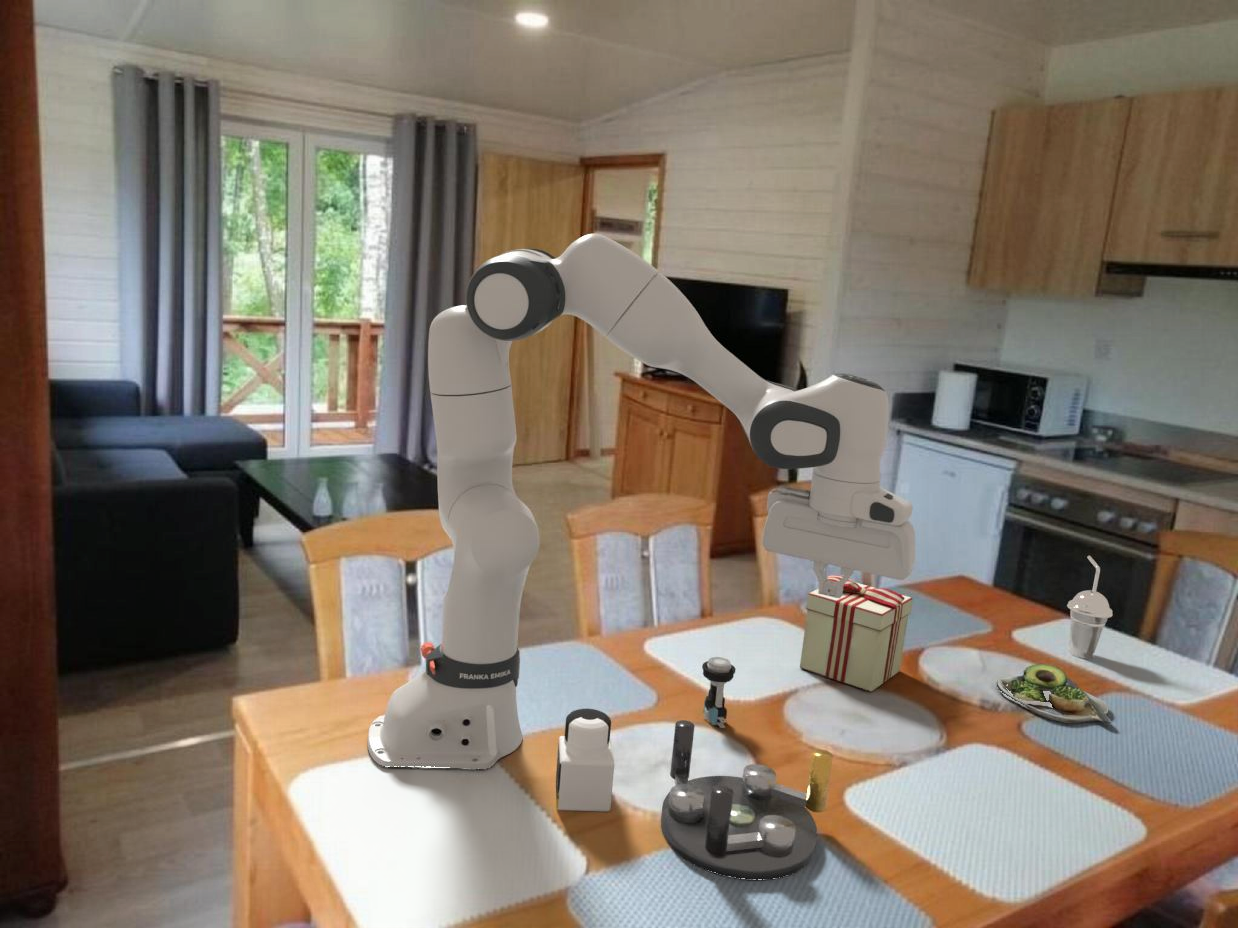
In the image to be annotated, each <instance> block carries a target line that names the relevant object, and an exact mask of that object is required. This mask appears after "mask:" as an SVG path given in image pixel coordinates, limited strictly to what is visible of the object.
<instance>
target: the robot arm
mask: <svg viewBox="0 0 1238 928" xmlns="http://www.w3.org/2000/svg"><path fill="white" fill-rule="evenodd" d="M465 302H466V303H465V304H462V305H457V306H451V307H449V308H447V309H445V310H443V311H441V312H439V313H438V314H437V315H436V316H435V317H434V318H433V320H432V321H431V324H430V326H429V331H428V347H427V363H428V366H427V367H428V383H429V391H430V392H429V393H430V401H431V408H432V415H433V416H432V417H433V425H434V434H435V440H436V453H437V454H436V455H437V457H436V459H437V460H436V461H437V464H436V466H437V467H436V468H437V469H436V470H437V472H436V473H437V474H436V475H437V477H436V478H437V496H438V497H437V501H438V514H439V515H438V516H439V521H440V524H441V527H442V529H443V531H444V532H445V533H446V535H447V536H448V537H449V538H450V540H451V542H452V548H453V563H452V569H451V574H450V578H449V581H448V586H447V590H446V591H445V592H444V595H443V599H442V619H441V621H442V623H441V643H440V644H439V645H438V646H436V647H435V644H433V642H430V641H426V642H424V643H422V645H421V647H420V651H421V656H422V657H423V658H424V659H425V670H424V671H422V672H421V673H419V674H418V675H416V676H415V677H414V678H412V679H411V680H409V681H407V682H406V683H404V684H403V685H401V686H400V687H398V688H396V689H395V690H394V691H393V692H392V693H391V695H390V698H389V699H388V703H387V705H386V709H385V713H384V714H383V715H379V716H378V717H376V718H375V719H374V720H373V721H372V722H371V724H370V726H369V728H368V734H367V748H368V752H369V754H370V757H371V758H372V760H374V761H375V762H376V763H377V764H378V765H379V766H381V765H382V766H381V767H383V766H390V767H394V766H397V767H398V766H399V767H401V766H405V767H408V766H414V767H415V766H421V767H422V766H424V767H426V766H431V767H434V766H435V767H450V768H462V769H461V770H464V769H463V768H467V769H466V770H476V769H478V768H479V769H484V770H488V769H491V766H492V767H493V766H494V764H496V763H497V761H499V759H501V758H503V757H505V756H507V755H510V754H512V752H514V751H516V749H518V748H519V746H520V745H521V743H522V740H523V732H522V728H521V724H520V720H519V713H518V703H517V686H518V682H519V679H520V669H521V666H520V665H521V656H520V655H521V654H520V650H519V648H518V642H519V641H518V640H519V639H518V638H519V625H520V609H521V602H522V601H521V600H522V597H523V596H522V595H523V591H524V588H525V584H526V580H527V576H528V573H529V569H530V566H531V564H533V562H534V561H535V559H536V557H537V555H538V553H539V550H540V544H541V537H540V530H539V528H538V525H537V522H536V519H535V516H534V513H532V511H531V509H530V508H529V507H528V506H527V505H526V504H525V503H524V502H523V501H522V500H521V499H519V497H518V496H517V495H516V492H515V489H514V485H513V464H514V463H513V459H514V449H515V446H516V444H517V439H518V436H517V428H516V419H515V408H514V399H513V389H512V379H511V372H510V371H511V369H510V349H511V345H512V343H513V341H514V342H516V341H521V340H523V339H527V338H529V337H531V336H533V335H535V334H537V333H539V332H541V331H543V330H545V329H546V328H548V327H549V326H550V324H552V323H553V322H554V320H556V319H557V318H559V317H560V316H563V315H568V316H569V315H570V316H573V317H577V318H578V319H580V320H582V321H584V322H585V323H586V324H588V325H589V326H591V327H592V328H593V329H594V330H596V331H597V332H598V333H599V334H600V335H601V336H603V337H604V338H606V340H608V341H609V342H610V343H611V344H613V345H614V346H615V347H616V348H618V349H619V350H621V351H622V352H624V353H625V354H627V355H628V356H630V357H631V358H634V359H635V360H637V361H639V362H641V363H642V364H645V365H646V366H649V367H652V368H658V369H663V370H669V371H672V372H675V373H678V374H681V375H683V376H684V377H687V378H688V379H691V380H692V381H693V382H695V383H696V384H697V385H698V386H699V387H701V388H702V389H704V390H705V391H706V392H707V393H708V394H710V396H712V397H714V399H716V400H717V401H719V402H720V403H721V404H722V405H723V406H725V407H726V408H727V409H729V410H730V411H731V412H732V413H733V414H734V416H735V417H736V418H737V420H738V421H739V423H740V425H741V428H742V430H743V432H744V433H745V436H746V438H747V440H748V441H749V444H750V446H751V448H752V451H753V452H754V453H755V455H756V456H757V457H758V458H759V460H760V461H761V462H763V463H764V464H766V465H768V466H769V467H771V468H776V469H779V470H793V469H794V470H795V469H796V470H797V469H798V470H799V469H809V468H812V477H811V483H810V490H808V489H803V488H794V487H789V486H786V485H779V486H778V487H775V488H772V489H771V490H770V491H769V492H768V495H767V501H766V511H767V513H768V514H767V516H766V520H765V524H764V527H763V532H762V537H761V538H762V539H761V545H762V546H763V548H764V549H765V551H767V552H771V553H776V554H779V555H780V554H781V555H784V556H790V557H794V558H798V559H802V560H807V561H812V562H813V568H812V569H813V572H814V573H815V576H816V578H817V581H818V582H819V585H818V589H819V591H818V593H819V594H822V595H827V596H831V597H835V598H840V597H841V596H842V593H843V586H844V584H845V583H846V582H847V580H848V579H850V578H851V577H852V576H853V575H854V573H855V571H857V572H861V573H867V574H871V575H875V576H879V577H884V578H889V579H893V580H898V581H904V580H905V579H907V578H908V577H909V576H910V575H912V572H913V571H914V566H915V558H916V532H915V528H914V526H913V525H912V524H913V523H911V522H910V521H909V520H910V518H911V516H912V513H913V504H912V503H911V502H910V501H908V500H907V499H905V498H903V497H901V496H899V495H897V494H895V493H893V492H891V491H889V490H887V489H885V488H883V487H881V486H880V485H881V479H882V474H881V468H880V466H881V459H882V456H883V454H884V451H885V449H886V444H887V437H888V428H889V416H890V415H889V413H890V410H889V409H890V405H889V404H890V403H889V397H888V393H887V392H886V390H885V389H884V388H883V387H882V386H881V385H880V384H878V383H877V382H874V381H872V380H868V379H866V378H863V377H860V376H856V375H853V374H847V373H842V372H841V373H839V372H838V373H832V374H831V375H830V376H829V377H827V378H826V379H824V380H822V381H820V382H818V383H815V384H813V385H810V386H808V387H805V388H802V389H796V388H794V387H792V386H789V385H785V384H782V383H777V382H774V381H772V380H771V381H770V380H767V379H766V378H764V377H762V376H761V375H759V374H758V373H757V372H755V371H754V370H753V369H751V368H750V367H749V366H748V365H747V364H745V363H744V362H743V361H741V360H740V359H739V358H738V357H737V356H735V355H734V354H733V353H732V352H730V351H729V350H728V349H727V348H726V347H724V346H723V345H722V344H721V343H720V342H719V341H718V340H717V339H716V338H715V337H714V336H713V334H712V333H711V331H710V330H709V328H708V327H707V326H706V324H705V322H704V320H703V319H702V317H701V316H700V314H699V313H698V311H697V310H696V308H695V307H694V306H693V304H692V303H691V302H690V300H689V299H688V298H687V297H686V296H685V295H684V294H683V292H681V290H680V289H679V287H677V286H676V285H675V283H673V282H672V281H671V280H670V279H668V277H666V276H665V275H664V274H663V273H661V272H659V270H658V269H657V268H656V267H654V266H653V265H651V264H650V263H649V262H648V261H646V260H645V259H644V258H642V257H641V256H639V255H638V254H637V253H635V252H633V251H632V250H631V249H629V248H628V247H625V246H624V245H622V244H620V243H619V242H618V241H615V240H613V239H612V238H611V237H608V236H606V235H604V234H600V233H588V234H585V235H583V236H581V237H579V238H577V239H576V240H574V241H572V242H571V244H569V246H567V248H566V249H564V252H562V253H561V254H560V255H559V256H558V257H555V256H554V255H552V254H551V253H548V252H547V251H545V250H541V249H537V248H519V249H512V250H508V251H505V252H503V253H500V254H499V255H497V256H494V257H492V258H490V259H487V260H486V261H484V262H483V263H482V264H480V266H478V268H477V269H476V270H475V271H474V273H473V274H472V276H471V277H470V279H469V282H468V285H467V288H466V295H465ZM828 565H830V566H834V567H839V568H840V569H839V571H840V572H839V574H840V576H843V578H842V579H841V580H840V581H839V582H835V581H830V580H828V579H827V577H828V576H827V573H826V571H825V569H826V568H827V567H828ZM468 768H470V769H468ZM473 768H474V769H473ZM487 768H488V769H487Z"/></svg>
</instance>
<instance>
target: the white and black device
mask: <svg viewBox="0 0 1238 928" xmlns="http://www.w3.org/2000/svg"><path fill="white" fill-rule="evenodd" d="M611 727H612V720H611V718H610V717H609V716H608V714H606V713H605V712H603V711H600V710H598V709H594V708H579V709H575V710H572V711H571V712H570V713H569V714H568V715H566V717H565V727H564V735H560V736H559V737H558V746H557V747H558V748H557V759H556V762H557V763H556V770H555V772H556V775H555V802H556V803H555V805H556V809H557V810H558V811H573V812H600V813H601V812H606V813H607V812H611V808H612V807H611V805H612V794H613V785H614V783H613V782H614V774H615V760H614V753H613V745H612V740H611V738H610V737H611Z"/></svg>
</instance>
